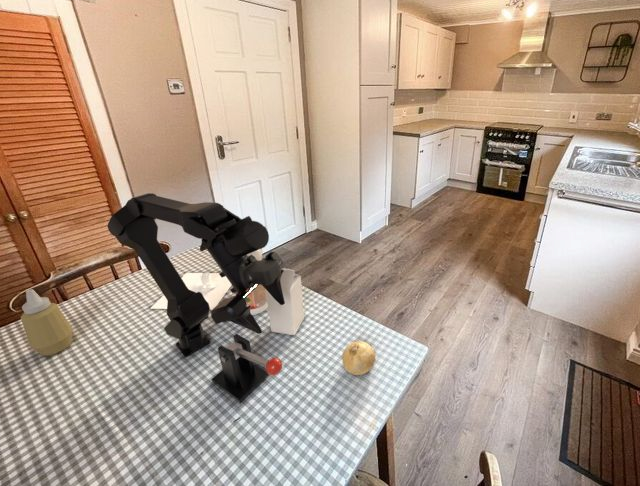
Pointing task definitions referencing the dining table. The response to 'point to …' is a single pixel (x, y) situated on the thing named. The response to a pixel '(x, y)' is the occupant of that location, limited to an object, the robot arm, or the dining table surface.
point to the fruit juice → (257, 292)
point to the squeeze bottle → (45, 325)
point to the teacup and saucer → (202, 288)
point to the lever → (256, 359)
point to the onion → (358, 358)
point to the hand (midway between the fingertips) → (272, 317)
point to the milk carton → (287, 305)
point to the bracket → (238, 372)
